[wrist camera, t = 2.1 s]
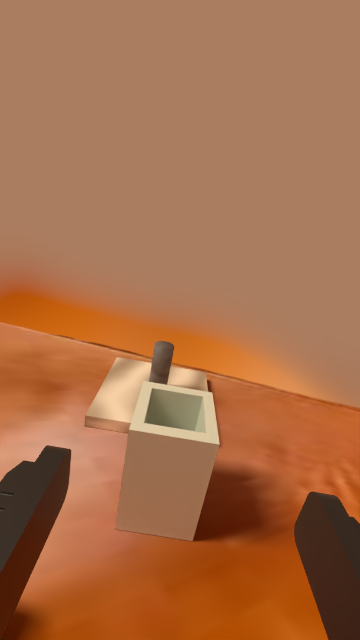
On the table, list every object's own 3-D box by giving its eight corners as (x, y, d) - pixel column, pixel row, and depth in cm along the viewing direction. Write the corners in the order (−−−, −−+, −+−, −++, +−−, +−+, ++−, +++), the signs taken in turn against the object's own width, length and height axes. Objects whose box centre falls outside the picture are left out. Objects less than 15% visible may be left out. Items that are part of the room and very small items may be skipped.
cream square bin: (191, 474, 29) (212, 392, 25) (192, 541, 23) (219, 444, 19) (130, 464, 28) (143, 380, 25) (114, 529, 22) (129, 429, 19)
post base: (203, 380, 47) (214, 334, 44) (210, 446, 33) (226, 385, 30) (116, 365, 47) (121, 317, 44) (84, 425, 32) (89, 361, 30)
